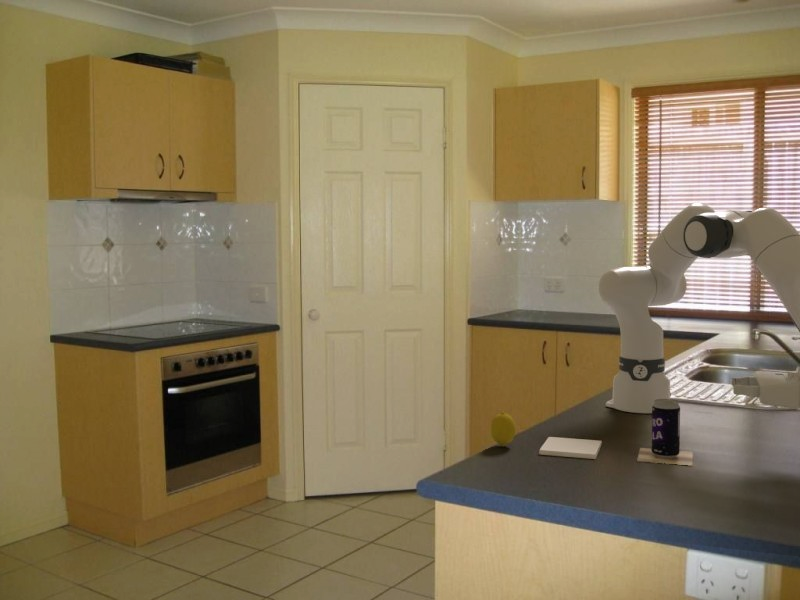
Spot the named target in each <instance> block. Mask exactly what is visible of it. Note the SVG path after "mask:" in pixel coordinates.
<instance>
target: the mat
mask: <svg viewBox="0 0 800 600" xmlns="http://www.w3.org/2000/svg"><path fill="white" fill-rule="evenodd" d="M602 443H603V441H602V440H597V439H595V440H594V439H585V438H584V439H581V438H571V437H569V438H568V437H557V436H556V437H555V436H548V437H547V439H546V440H545V442H544V443H543V444H542V445H541V447H540V449H539V451H538V453H539V455H542V456H543V455H544V456H555V457H568V458H579V459H580V458H581V459H589V460H590V459H591V460H592V459H593V460H596V459H597V457H598V454H599V452H600V450H601V448H602Z"/></svg>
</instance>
